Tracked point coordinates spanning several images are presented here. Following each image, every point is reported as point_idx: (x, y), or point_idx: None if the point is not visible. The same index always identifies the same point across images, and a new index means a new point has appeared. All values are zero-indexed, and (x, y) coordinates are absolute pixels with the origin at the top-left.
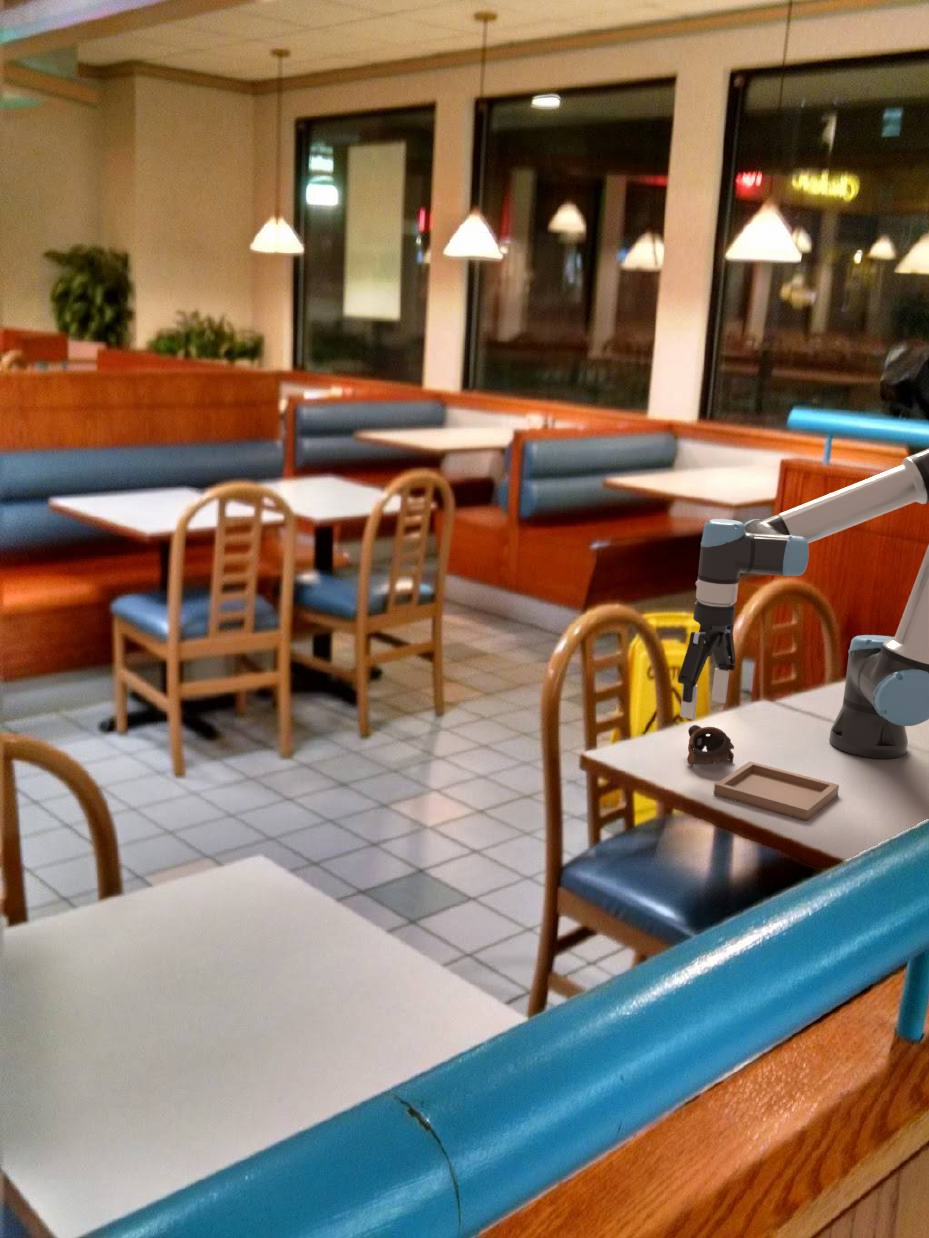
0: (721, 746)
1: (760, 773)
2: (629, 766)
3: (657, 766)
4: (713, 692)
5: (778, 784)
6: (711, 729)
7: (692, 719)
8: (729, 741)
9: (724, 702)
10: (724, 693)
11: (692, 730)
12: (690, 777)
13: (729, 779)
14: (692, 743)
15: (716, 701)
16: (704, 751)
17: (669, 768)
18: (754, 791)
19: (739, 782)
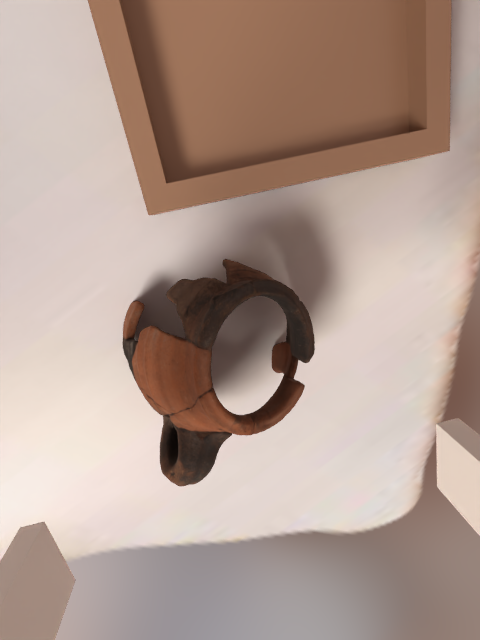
0: (263, 291)
1: (160, 150)
2: (402, 429)
3: (350, 395)
4: (49, 635)
5: (192, 22)
6: (216, 398)
7: (456, 421)
8: (188, 307)
9: (33, 528)
10: (9, 596)
11: (214, 459)
12: (352, 293)
13: (372, 143)
14: (299, 386)
15: (62, 557)
16: (306, 324)
17: (338, 370)
18: (330, 49)
19: (298, 147)
